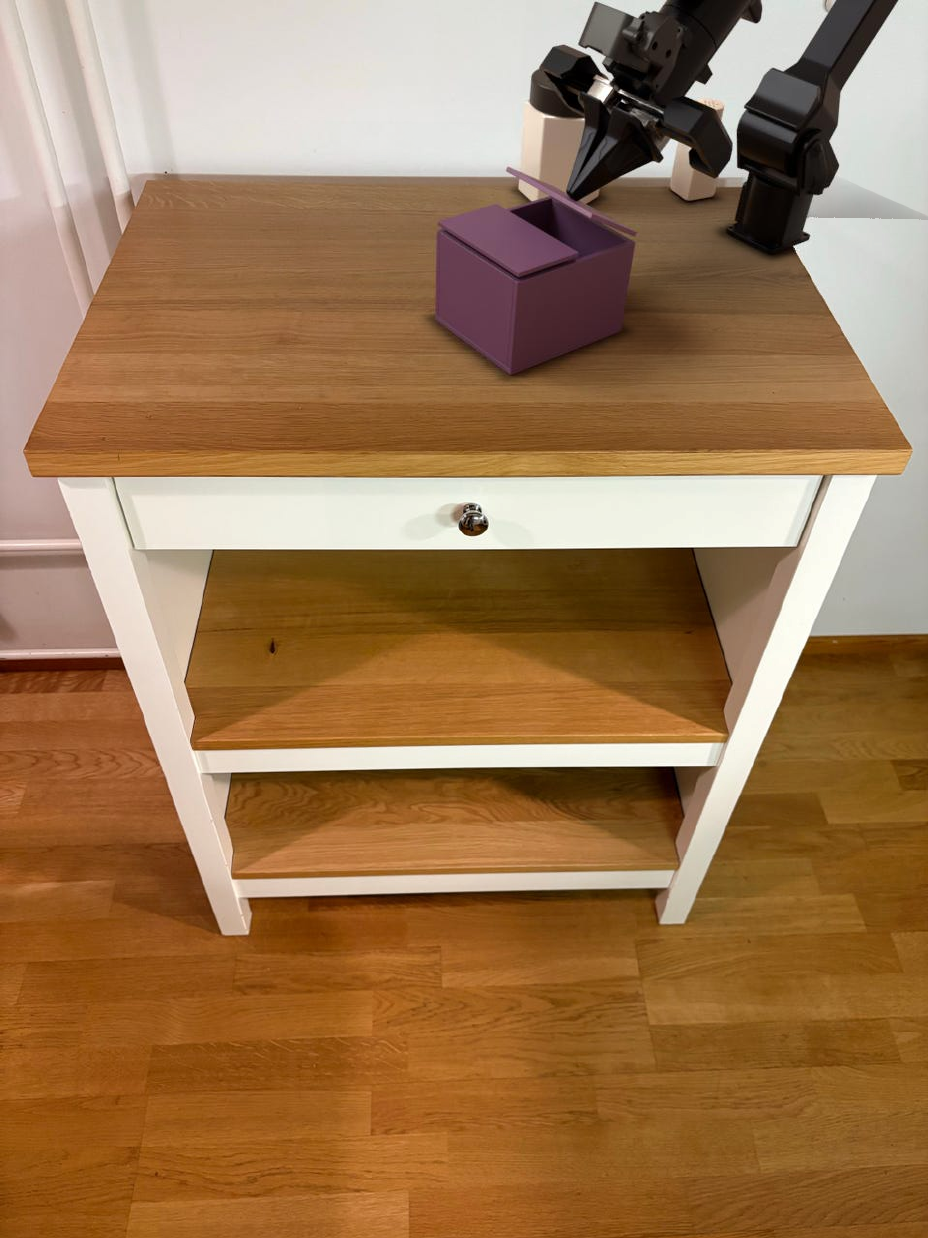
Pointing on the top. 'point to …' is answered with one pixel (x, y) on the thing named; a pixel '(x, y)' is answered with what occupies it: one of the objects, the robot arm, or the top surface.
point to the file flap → (571, 202)
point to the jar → (549, 139)
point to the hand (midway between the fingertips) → (570, 196)
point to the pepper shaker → (684, 176)
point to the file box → (530, 281)
